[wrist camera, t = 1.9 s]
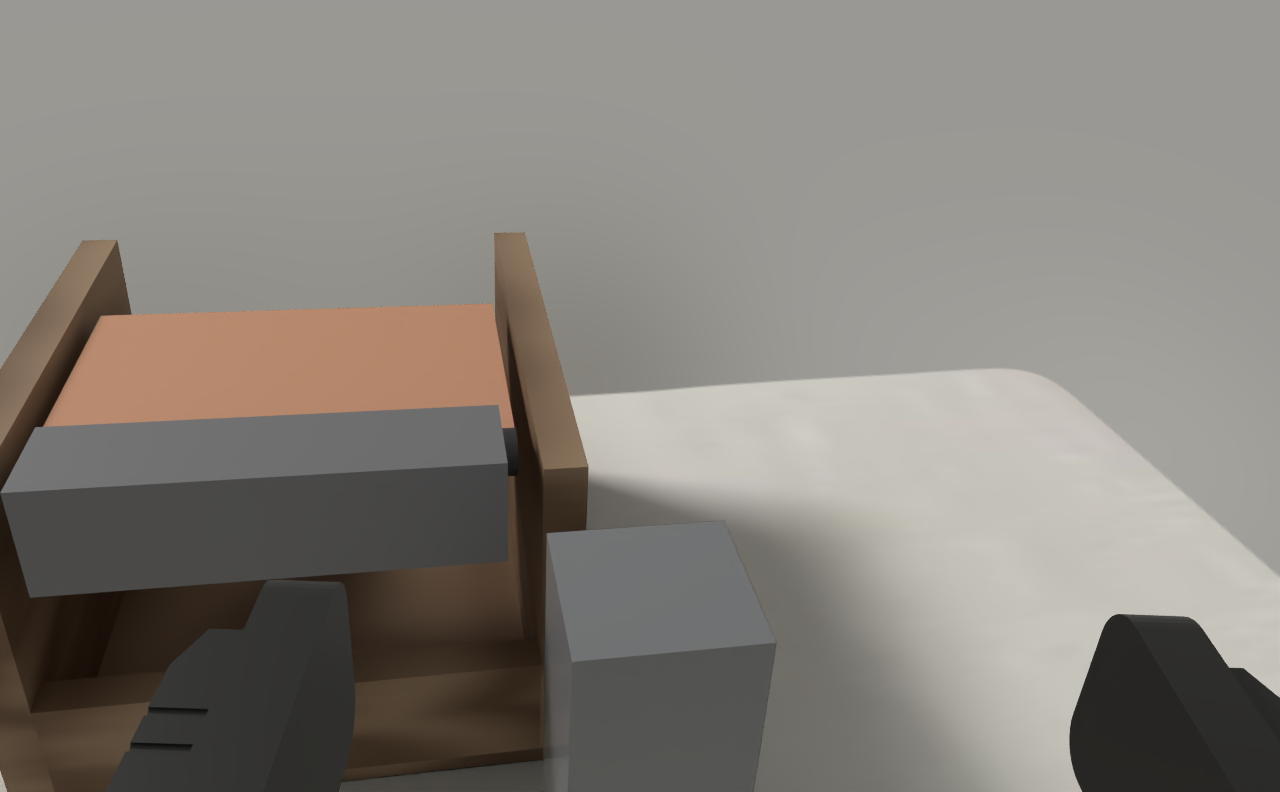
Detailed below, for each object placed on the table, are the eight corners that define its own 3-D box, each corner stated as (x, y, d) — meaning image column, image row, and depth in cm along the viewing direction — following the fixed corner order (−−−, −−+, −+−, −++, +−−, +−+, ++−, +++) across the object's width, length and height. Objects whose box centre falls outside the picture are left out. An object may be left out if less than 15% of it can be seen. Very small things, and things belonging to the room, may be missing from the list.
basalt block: (690, 815, 33) (723, 520, 28) (728, 952, 29) (776, 642, 24) (541, 833, 32) (546, 533, 27) (561, 977, 29) (572, 661, 23)
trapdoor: (493, 355, 40) (491, 275, 39) (526, 559, 30) (526, 461, 28) (112, 370, 38) (94, 285, 36) (8, 599, 28) (-23, 494, 26)
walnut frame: (523, 462, 49) (524, 232, 44) (577, 755, 35) (588, 466, 29) (133, 485, 46) (82, 240, 41) (16, 817, 32) (-89, 507, 26)
